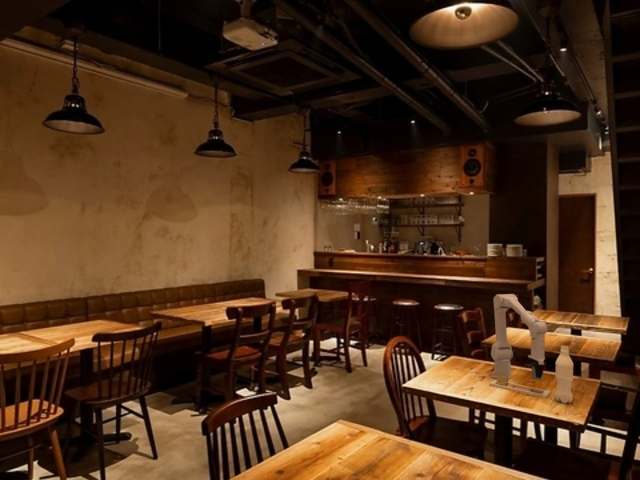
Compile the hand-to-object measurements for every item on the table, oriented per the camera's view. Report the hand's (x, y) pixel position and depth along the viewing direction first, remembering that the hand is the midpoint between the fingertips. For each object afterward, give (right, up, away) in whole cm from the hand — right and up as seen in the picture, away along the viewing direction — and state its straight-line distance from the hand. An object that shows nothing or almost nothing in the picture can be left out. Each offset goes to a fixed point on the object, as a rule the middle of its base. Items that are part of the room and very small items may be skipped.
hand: (537, 375), depth 216 cm
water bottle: (+7, -9, -10) cm, 15 cm away
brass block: (-12, -8, +10) cm, 18 cm away
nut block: (0, -1, 0) cm, 1 cm away
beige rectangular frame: (-6, -8, +5) cm, 12 cm away
